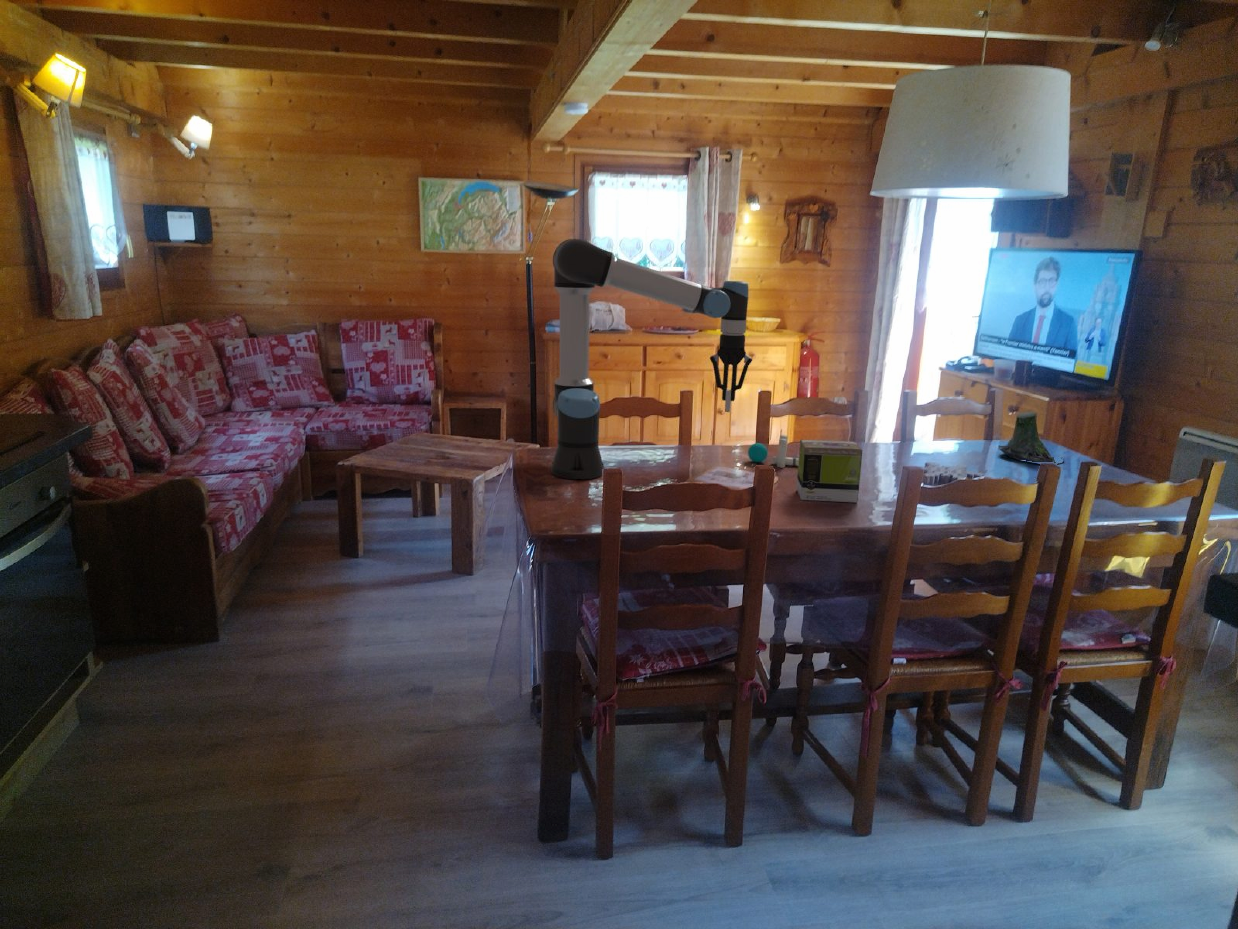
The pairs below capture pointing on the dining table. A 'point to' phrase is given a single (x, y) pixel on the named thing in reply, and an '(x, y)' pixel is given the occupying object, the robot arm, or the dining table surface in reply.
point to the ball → (757, 452)
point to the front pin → (788, 461)
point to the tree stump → (1027, 441)
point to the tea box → (829, 470)
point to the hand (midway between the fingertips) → (727, 411)
